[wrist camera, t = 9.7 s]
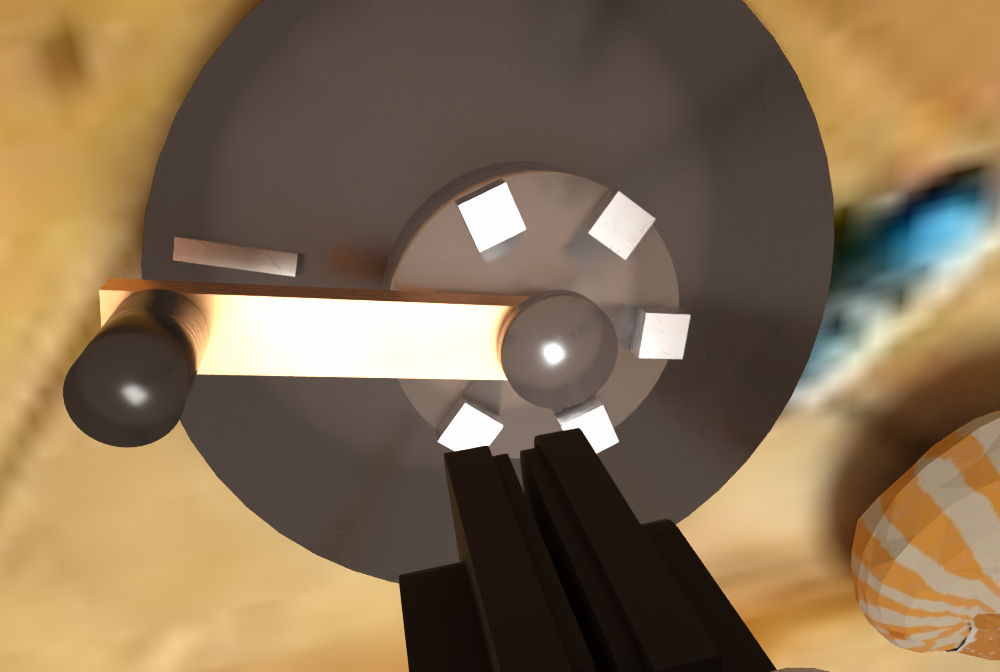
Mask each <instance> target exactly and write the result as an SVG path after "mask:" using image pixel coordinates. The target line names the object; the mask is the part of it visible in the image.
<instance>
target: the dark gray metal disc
mask: <svg viewBox="0 0 1000 672" xmlns="http://www.w3.org/2000/svg"><path fill="white" fill-rule="evenodd" d="M512 161H536V162H542V163H549V164H554V165H557V166H561V167H564V168H567V169H570V170H572V171H574V172H577V173H579V174H581V175H583V176H585V177H587V178H589V179H591V180H593V181H595V182H597V183H599V184H601V185H603V186H605V187H607V188H610V187H612V188H614V189H616V190H618V191H619V192H621V193H622V194H623V195H625V196H626V197H627V198H629V199H630V200H631V201H633V202H634V203H635V204H637V205H638V206H639V207H641V208H642V209H643V210H645V211H646V212H647V213H649V214H650V215H651V216H652V217H654V218H655V219H656V220H655V221H654V222H653V224H652V225H653V226H654V227H655V229H656V230H657V232H658V233H659V235H660V236H661V238H662V240H663V241H664V243H665V245H666V248H667V250H668V252H669V254H670V257H671V259H672V262H673V266H674V269H675V273H676V277H677V284H678V290H679V308H682V309H684V310H685V311H686V312H688V313H689V314H690V315H691V316H690V322H689V327H688V332H687V338H686V343H685V348H684V354H683V359H668V361H667V364H666V366H665V368H664V370H663V371H662V373H661V375H660V377H659V379H658V381H657V382H656V384H655V385H654V387H653V388H652V390H651V391H650V393H649V394H648V396H647V397H646V398H645V399H644V400H643V401H642V402H641V404H640V405H639V406H638V407H637V408H636V409H635V410H634V411H633V412H632V413H631V414H630V415H629V416H628V417H627V418H626V419H625V420H624V421H622V422H621V423H620V424H618V425H617V426H616V427H614V428H613V429H614V431H615V434H616V436H617V438H618V441H619V442H618V443H616V444H614V445H612V446H610V447H608V448H606V449H604V450H602V451H600V452H598V453H596V454H597V455H598V457H599V458H600V460H601V462H602V463H603V465H604V466H605V468H606V470H607V471H608V473H609V474H610V476H611V478H612V479H613V481H614V483H615V484H616V486H617V487H618V489H619V491H620V492H621V494H622V495H623V497H624V499H625V500H626V502H627V503H628V505H629V507H630V508H631V510H632V511H633V513H634V515H635V516H636V518H637V519H638V521H639V523H640V524H644V523H649V522H653V521H658V520H663V519H668V520H671V521H672V522H673V523H674V524H675V525H676V524H677V523H679V522H680V521H681V520H683V519H684V518H686V517H687V516H689V515H690V514H691V513H692V512H694V511H695V510H696V509H697V508H698V507H699V506H701V505H702V504H703V503H704V502H705V501H707V500H708V499H709V498H710V497H711V496H713V495H714V494H715V493H716V492H717V491H718V490H719V489H720V488H721V487H722V486H723V485H724V484H725V483H726V482H727V481H728V480H729V479H730V478H731V477H732V476H733V475H734V474H735V473H736V472H737V471H738V470H739V469H740V468H741V467H742V465H743V464H744V463H745V462H746V461H747V460H748V459H749V457H750V456H751V455H752V453H753V452H754V451H755V450H756V448H757V447H758V446H759V444H760V443H761V442H762V441H763V439H764V438H765V437H766V435H767V434H768V433H769V432H770V430H771V429H772V427H773V425H774V424H775V422H776V420H777V419H778V417H779V416H780V414H781V412H782V411H783V409H784V407H785V406H786V404H787V403H788V401H789V399H790V398H791V396H792V394H793V392H794V390H795V387H796V385H797V383H798V381H799V379H800V377H801V375H802V373H803V371H804V368H805V366H806V364H807V362H808V360H809V357H810V354H811V351H812V348H813V345H814V342H815V340H816V337H817V334H818V331H819V328H820V325H821V322H822V318H823V313H824V308H825V304H826V299H827V295H828V290H829V286H830V280H831V270H832V259H833V249H834V208H833V194H832V187H831V181H830V174H829V168H828V161H827V156H826V152H825V149H824V145H823V142H822V138H821V135H820V131H819V128H818V125H817V121H816V118H815V115H814V112H813V110H812V108H811V106H810V103H809V101H808V99H807V97H806V94H805V92H804V90H803V88H802V85H801V83H800V81H799V79H798V76H797V74H796V73H795V71H794V70H793V68H792V66H791V65H790V63H789V62H788V60H787V58H786V57H785V55H784V53H783V52H782V50H781V49H780V47H779V45H778V44H777V42H776V41H775V39H774V37H773V36H772V35H771V34H770V33H769V31H768V30H767V29H766V28H765V27H764V25H763V24H762V23H761V22H760V21H759V20H758V18H757V17H756V16H755V15H754V14H753V12H752V11H751V10H750V9H749V8H748V6H747V5H746V4H745V3H744V2H743V1H742V0H263V1H262V2H261V3H260V4H259V5H258V6H257V7H256V8H254V9H253V10H252V11H251V12H250V13H249V14H248V15H247V16H246V17H245V18H244V19H243V20H242V21H241V22H240V23H239V24H238V25H237V26H236V27H235V28H234V29H233V31H232V32H231V33H230V34H229V36H228V37H227V38H226V39H225V41H224V42H223V43H222V45H221V46H220V47H219V48H218V50H217V51H216V52H215V54H214V55H213V56H212V57H211V59H210V60H209V61H208V62H207V64H206V65H205V66H204V68H203V69H202V71H201V72H200V74H199V76H198V78H197V79H196V81H195V83H194V85H193V86H192V88H191V90H190V92H189V93H188V95H187V97H186V99H185V100H184V102H183V104H182V106H181V107H180V109H179V111H178V113H177V114H176V117H175V119H174V122H173V124H172V127H171V129H170V132H169V134H168V137H167V140H166V142H165V145H164V147H163V150H162V152H161V155H160V157H159V160H158V163H157V166H156V170H155V175H154V179H153V183H152V188H151V192H150V196H149V200H148V205H147V209H146V213H145V225H144V237H143V249H142V261H141V267H142V280H163V281H187V282H210V283H233V284H256V285H279V286H302V287H325V288H349V289H372V290H382V286H383V279H384V273H385V269H386V266H387V262H388V258H389V256H390V253H391V251H392V248H393V246H394V244H395V241H396V239H397V238H398V236H399V234H400V233H401V231H402V229H403V227H404V226H405V224H406V223H407V222H408V220H409V219H410V218H411V216H412V215H413V214H414V212H415V211H416V210H417V209H418V208H419V207H420V206H421V205H422V204H423V203H424V202H425V201H426V200H427V199H428V198H429V197H430V196H431V195H432V194H434V193H435V192H436V191H438V190H439V189H440V188H442V187H443V186H444V185H446V184H447V183H449V182H451V181H453V180H454V179H456V178H458V177H460V176H461V175H464V174H466V173H469V172H471V171H473V170H476V169H478V168H482V167H485V166H489V165H493V164H497V163H504V162H512ZM180 421H181V423H182V425H183V427H184V429H185V430H186V432H187V434H188V436H189V438H190V440H191V441H192V443H193V444H194V446H195V447H196V448H197V450H198V451H199V452H200V454H201V455H202V456H203V458H204V459H205V461H206V462H207V463H208V465H209V466H210V467H211V469H212V470H213V471H214V473H215V474H216V476H217V477H218V478H219V479H220V480H221V481H222V482H223V483H224V484H225V485H226V486H227V487H228V488H229V489H230V490H231V491H232V492H233V493H234V494H235V495H236V496H237V497H238V498H239V499H240V500H241V502H242V503H243V504H244V505H245V506H246V507H247V508H249V509H250V510H251V511H253V512H254V513H255V514H256V515H258V516H259V517H260V518H261V519H263V520H264V521H265V522H266V523H268V524H269V525H270V526H272V527H273V528H274V529H275V530H277V531H278V532H279V533H281V534H282V535H284V536H286V537H287V538H289V539H291V540H292V541H294V542H296V543H297V544H299V545H301V546H302V547H304V548H306V549H307V550H309V551H311V552H313V553H314V554H316V555H318V556H321V557H323V558H325V559H328V560H330V561H332V562H334V563H337V564H339V565H341V566H344V567H346V568H348V569H351V570H353V571H356V572H360V573H363V574H366V575H370V576H373V577H377V578H380V579H383V580H387V581H390V582H395V583H399V575H401V574H406V573H410V572H415V571H420V570H425V569H429V568H434V567H439V566H444V565H448V564H453V563H458V562H460V560H459V554H458V547H457V541H456V534H455V528H454V522H453V515H452V509H451V502H450V496H449V490H448V483H447V477H446V470H445V464H444V453H448V452H453V451H454V450H452V449H450V448H448V447H447V446H445V445H443V444H441V443H439V442H438V441H437V438H436V434H435V430H436V429H435V428H434V427H433V426H431V425H430V424H429V423H428V422H427V421H426V420H425V419H424V418H423V417H422V416H421V415H420V413H419V412H418V411H417V410H416V409H415V408H414V407H413V405H412V403H411V402H410V400H409V399H408V397H407V396H406V394H405V393H404V391H403V389H402V387H401V384H400V382H399V380H398V378H374V377H322V376H270V375H218V374H197V375H196V378H195V381H194V383H193V386H192V389H191V391H190V394H189V397H188V399H187V402H186V405H185V407H184V410H183V413H182V415H181V418H180ZM510 460H511V462H512V465H513V467H514V470H515V472H516V475H517V477H518V479H519V482H520V484H521V487H522V489H523V481H522V472H521V464H520V459H517V458H510ZM523 492H524V489H523Z"/></svg>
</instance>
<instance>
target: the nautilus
mask: <svg viewBox="0 0 1000 672" xmlns="http://www.w3.org/2000/svg"><path fill="white" fill-rule="evenodd" d="M851 573H852V576H853V581H854V587H855V593H856V599H857V602H858V604H859V606H860V608H861V609H862V611H863V613H864V615H865V617H866V619H867V621H868V622H869V623H870V624H871V625H872V626H873V627H874V628H875V629H876V630H877V631H879V632H880V633H881V634H882V635H883V636H884V637H885V638H886V639H887V640H888V641H889V642H890V643H892V644H894V645H896V646H898V647H900V648H903V649H907V650H911V651H916V652H920V653H922V652H932V651H942V650H945V651H947V652H959V653H963V654H967V655H971V656H976V657H980V658H984V659H988V660H1000V410H997V411H995V412H992V413H989V414H986V415H984V416H981V417H978V418H975V419H974V420H972V421H970V422H969V423H967V424H965V425H964V426H962V427H960V428H959V429H957V430H956V431H954V432H953V433H951V434H950V435H948V436H947V437H945V438H944V439H942V440H941V441H939V442H938V443H936V444H935V445H933V446H932V447H931V448H930V449H929V450H928V451H927V452H926V453H925V454H924V455H923V456H922V457H921V458H920V459H919V460H918V461H917V462H916V463H915V464H914V465H913V466H912V467H911V468H910V469H909V470H908V471H907V472H905V473H904V474H903V475H902V476H901V477H900V478H899V479H898V480H897V481H896V482H894V483H893V484H892V485H891V486H890V487H889V488H888V489H887V490H886V491H884V492H883V493H882V494H881V495H880V496H879V497H878V498H877V499H876V500H875V501H874V502H873V504H872V505H871V506H870V507H869V508H868V509H867V510H866V511H865V512H864V514H863V515H862V516H861V517H860V518H859V519H858V521H857V526H856V531H855V536H854V541H853V546H852V557H851Z"/></svg>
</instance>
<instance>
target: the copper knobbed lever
mask: <svg viewBox="0 0 1000 672" xmlns="http://www.w3.org/2000/svg"><path fill="white" fill-rule="evenodd" d="M655 220H656V219H655V218H654V217H652V216H651V215H650V214H649V213H647V212H646V211H645V210H643V209H642V208H641V207H639V206H638V205H637V204H635V203H634V202H633V201H631V200H630V199H629V198H627V197H626V196H625V195H623V194H622V193H621V192H619V191H618V190H616V189H614V188H612V187H610V188H607V187H605V186H603V185H601V184H599V183H597V182H595V181H593V180H591V179H589V178H587V177H585V176H583V175H581V174H579V173H577V172H574V171H572V170H570V169H567V168H564V167H561V166H557V165H554V164H549V163H542V162H536V161H512V162H504V163H497V164H493V165H489V166H485V167H482V168H478V169H476V170H473V171H471V172H469V173H466V174H464V175H461V176H460V177H458V178H456V179H454V180H453V181H451V182H449V183H447V184H446V185H444V186H443V187H442V188H440V189H439V190H438V191H436V192H435V193H434V194H432V195H431V196H430V197H429V198H428V199H427V200H426V201H425V202H424V203H423V204H422V205H421V206H420V207H419V208H418V209H417V210H416V211H415V212H414V214H413V215H412V216H411V218H410V219H409V220H408V222H407V223H406V224H405V226H404V227H403V229H402V231H401V233H400V234H399V236H398V238H397V239H396V241H395V244H394V246H393V248H392V251H391V253H390V256H389V258H388V262H387V266H386V269H385V273H384V279H383V286H382V290H372V289H349V288H325V287H302V286H279V285H256V284H233V283H210V282H187V281H163V280H140V279H117V278H110V279H109V280H108V281H107V282H106V283H105V284H104V285H103V287H102V288H101V289H100V290H99V291H100V309H101V327H102V328H101V329H100V330H99V331H98V333H97V334H96V335H95V337H94V338H93V339H92V341H91V342H90V343H89V344H88V346H87V347H86V348H85V350H84V351H83V352H82V354H81V355H80V356H79V357H78V359H77V360H76V361H75V363H74V364H73V365H72V367H71V368H70V370H69V372H68V373H67V375H66V378H65V381H64V387H63V398H64V404H65V407H66V410H67V412H68V414H69V416H70V418H71V419H72V421H73V422H74V423H75V424H76V426H77V427H78V428H79V429H80V430H82V431H83V432H84V433H85V434H87V435H88V436H89V437H91V438H93V439H95V440H97V441H99V442H102V443H104V444H108V445H111V446H117V447H138V446H143V445H147V444H150V443H153V442H155V441H157V440H159V439H161V438H162V437H164V436H165V435H167V434H168V433H169V432H170V431H171V430H172V429H173V428H174V427H175V425H176V424H177V423H178V421H179V419H180V418H181V415H182V413H183V410H184V407H185V405H186V402H187V399H188V397H189V394H190V391H191V389H192V386H193V383H194V381H195V378H196V375H197V374H218V375H270V376H322V377H374V378H398V380H399V382H400V384H401V387H402V389H403V391H404V393H405V394H406V396H407V397H408V399H409V400H410V402H411V403H412V405H413V407H414V408H415V409H416V410H417V411H418V412H419V413H420V415H421V416H422V417H423V418H424V419H425V420H426V421H427V422H428V423H429V424H430V425H431V426H433V427H434V428H435V429H436V430H435V434H436V438H437V441H438V442H439V443H441V444H443V445H445V446H447V447H448V448H450V449H452V450H454V451H458V450H464V449H469V448H474V447H479V446H485V445H488V446H489V448H490V451H491V454H492V456H495V455H501V454H506V453H507V454H508V455H509V458H517V459H520V451H521V450H526V449H532V448H534V438H535V436H537V435H542V434H547V433H553V432H558V431H563V430H568V429H573V428H580V429H581V430H582V431H583V433H584V434H585V436H586V438H587V439H588V441H589V442H590V444H591V446H592V447H593V449H594V450H595V452H596V453H598V452H600V451H602V450H604V449H606V448H608V447H610V446H612V445H614V444H616V443H618V442H619V441H618V438H617V436H616V434H615V431H614V429H613V428H614V427H616V426H617V425H618V424H620V423H621V422H622V421H624V420H625V419H626V418H627V417H628V416H629V415H630V414H631V413H632V412H633V411H634V410H635V409H636V408H637V407H638V406H639V405H640V404H641V402H642V401H643V400H644V399H645V398H646V397H647V396H648V394H649V393H650V391H651V390H652V388H653V387H654V385H655V384H656V382H657V381H658V379H659V377H660V375H661V373H662V371H663V370H664V368H665V366H666V364H667V361H668V359H683V354H684V348H685V343H686V338H687V332H688V327H689V322H690V316H691V315H690V314H689V313H688V312H686V311H685V310H684V309H682V308H679V290H678V284H677V277H676V273H675V269H674V266H673V262H672V259H671V257H670V254H669V252H668V250H667V248H666V245H665V243H664V241H663V240H662V238H661V236H660V235H659V233H658V232H657V230H656V229H655V227H654V226H653V225H652V224H653V222H654V221H655Z"/></svg>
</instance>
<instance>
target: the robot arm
mask: <svg viewBox="0 0 1000 672" xmlns="http://www.w3.org/2000/svg"><path fill="white" fill-rule="evenodd" d="M444 464H445V470H446V477H447V483H448V490H449V496H450V502H451V509H452V515H453V522H454V528H455V534H456V541H457V547H458V554H459V560H460V562H458V563H453V564H448V565H444V566H439V567H434V568H429V569H425V570H420V571H415V572H410V573H406V574H401V575H399V586H400V595H401V604H402V612H403V621H404V630H405V639H406V648H407V656H408V665H409V672H829V671H824V670H820V669H815V668H784V669H780V670H777V669H776V668H775V666H774V665H773V664H772V662H771V661H770V659H769V658H768V656H767V655H766V653H765V652H764V651H763V649H762V648H761V646H760V645H759V643H758V642H757V641H756V639H755V638H754V636H753V635H752V633H751V632H750V630H749V629H748V628H747V626H746V625H745V623H744V622H743V620H742V619H741V618H740V616H739V615H738V613H737V612H736V610H735V609H734V607H733V606H732V605H731V603H730V602H729V600H728V599H727V597H726V596H725V595H724V593H723V592H722V590H721V589H720V587H719V586H718V584H717V583H716V582H715V580H714V579H713V577H712V576H711V574H710V573H709V571H708V570H707V569H706V567H705V566H704V564H703V563H702V561H701V560H700V559H699V557H698V556H697V554H696V553H695V551H694V550H693V548H692V547H691V546H690V544H689V543H688V541H687V540H686V538H685V537H684V536H683V534H682V533H681V531H680V530H679V528H678V527H677V526H676V525H675V524H674V523H673V522H672V521H671V520H668V519H663V520H658V521H653V522H649V523H644V524H640V523H639V521H638V519H637V518H636V516H635V515H634V513H633V511H632V510H631V508H630V507H629V505H628V503H627V502H626V500H625V499H624V497H623V495H622V494H621V492H620V491H619V489H618V487H617V486H616V484H615V483H614V481H613V479H612V478H611V476H610V474H609V473H608V471H607V470H606V468H605V466H604V465H603V463H602V462H601V460H600V458H599V457H598V455H597V454H596V452H595V450H594V449H593V447H592V446H591V444H590V442H589V441H588V439H587V438H586V436H585V434H584V433H583V431H582V430H581V429H580V428H573V429H568V430H563V431H558V432H553V433H547V434H542V435H537V436H535V438H534V448H532V449H526V450H521V451H520V464H521V472H522V481H523V489H524V492H523V489H522V487H521V484H520V482H519V479H518V477H517V475H516V472H515V470H514V467H513V465H512V462H511V460H510V458H509V455H508V454H507V453H506V454H501V455H495V456H492V454H491V451H490V448H489V446H488V445H485V446H479V447H474V448H469V449H464V450H458V451H453V452H448V453H444Z"/></svg>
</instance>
